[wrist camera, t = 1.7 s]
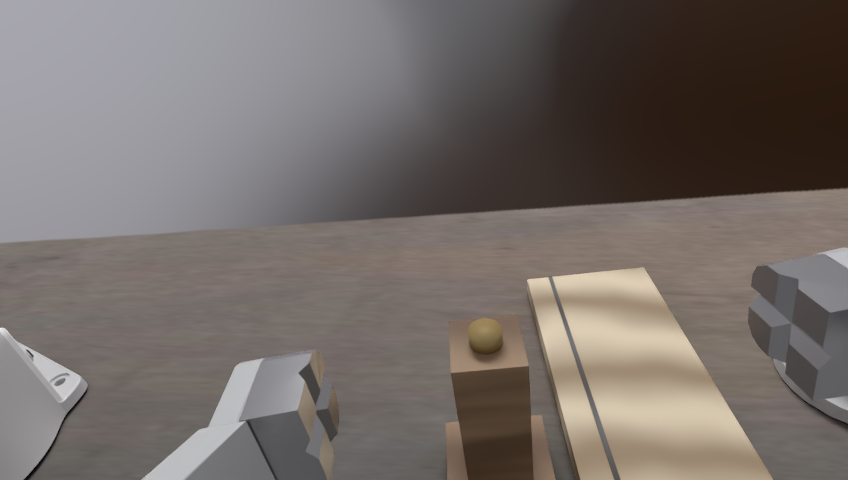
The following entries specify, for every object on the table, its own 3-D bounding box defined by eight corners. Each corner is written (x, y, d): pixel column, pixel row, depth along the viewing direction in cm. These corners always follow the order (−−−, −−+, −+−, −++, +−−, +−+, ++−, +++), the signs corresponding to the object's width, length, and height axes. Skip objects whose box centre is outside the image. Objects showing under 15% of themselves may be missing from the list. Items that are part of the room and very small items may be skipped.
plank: (818, 583, 24) (827, 567, 23) (605, 594, 25) (607, 579, 24) (642, 281, 44) (643, 266, 44) (527, 292, 45) (527, 278, 44)
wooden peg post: (562, 534, 28) (563, 372, 21) (453, 541, 28) (420, 384, 22) (541, 439, 33) (537, 284, 26) (450, 447, 33) (422, 296, 27)
